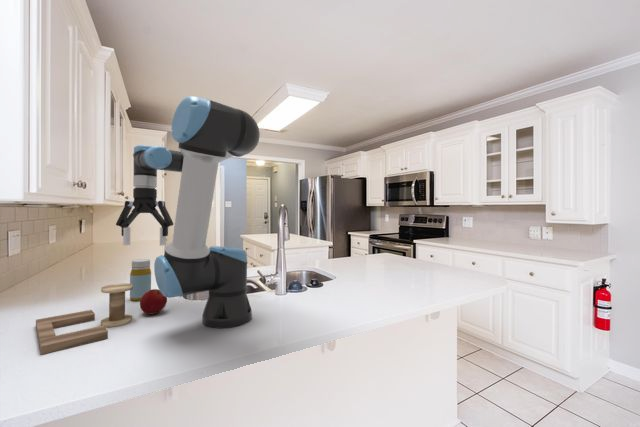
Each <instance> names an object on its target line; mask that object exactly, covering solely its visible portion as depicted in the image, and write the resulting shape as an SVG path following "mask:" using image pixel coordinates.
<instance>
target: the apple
mask: <svg viewBox="0 0 640 427" xmlns="http://www.w3.org/2000/svg"><path fill="white" fill-rule="evenodd" d="M167 302H168V297H165V296H164V295H163V294H162V293H161V292H160V290H159V288H157V289H156V288H153V289H152V288H151V290H150V291H148V292H146V293H145V294H144V295H143V296H142V298H141V300H140V301H139V307H140V310H141V311H142V312H143V313H145V314H148V315H155V314H158V313H160V312H161V311H163V310H164V309H165V307H166V304H167Z"/></svg>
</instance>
